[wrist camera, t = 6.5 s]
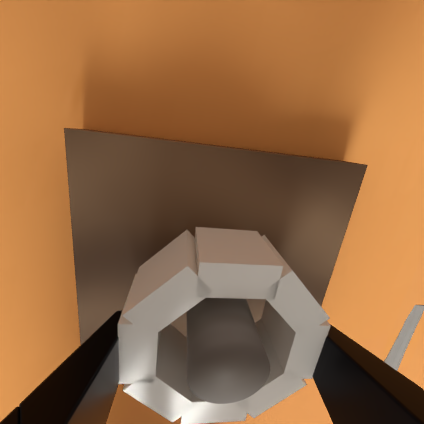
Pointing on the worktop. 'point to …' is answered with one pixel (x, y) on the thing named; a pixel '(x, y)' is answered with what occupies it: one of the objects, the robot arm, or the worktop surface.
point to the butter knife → (404, 337)
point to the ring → (215, 288)
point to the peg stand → (188, 220)
